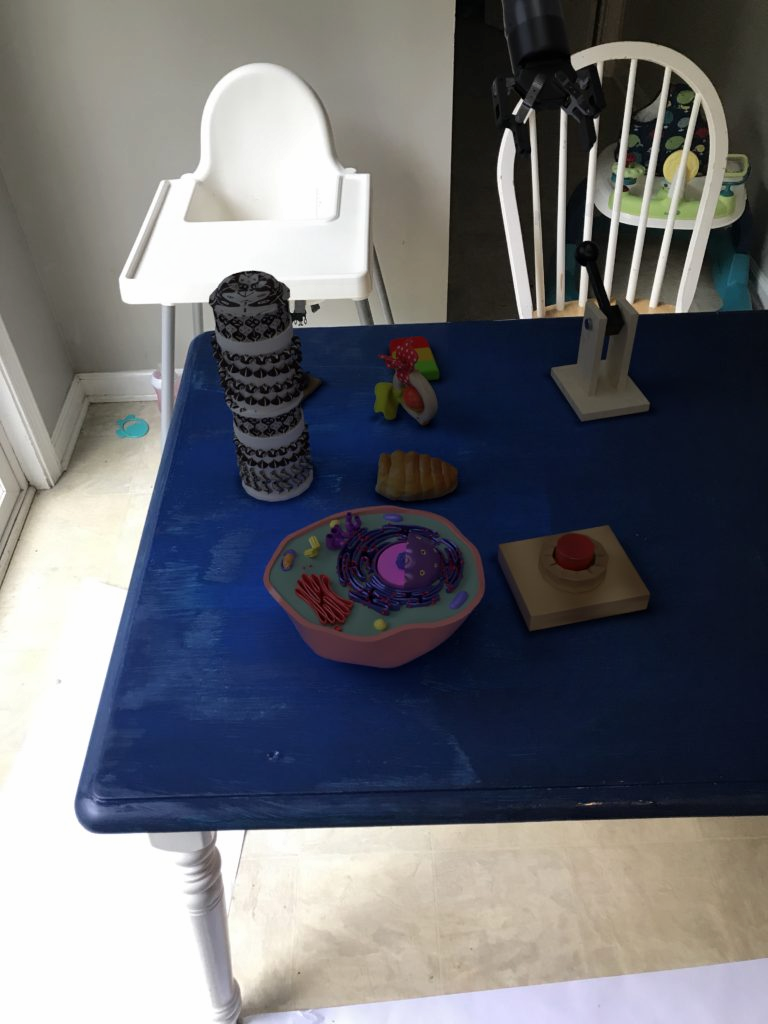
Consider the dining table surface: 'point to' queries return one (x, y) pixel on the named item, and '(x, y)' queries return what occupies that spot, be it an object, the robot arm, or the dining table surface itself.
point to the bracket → (602, 368)
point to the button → (574, 552)
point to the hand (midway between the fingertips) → (558, 152)
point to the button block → (571, 581)
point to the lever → (599, 285)
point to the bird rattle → (406, 387)
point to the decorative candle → (262, 384)
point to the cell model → (376, 584)
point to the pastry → (414, 476)
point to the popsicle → (425, 355)
